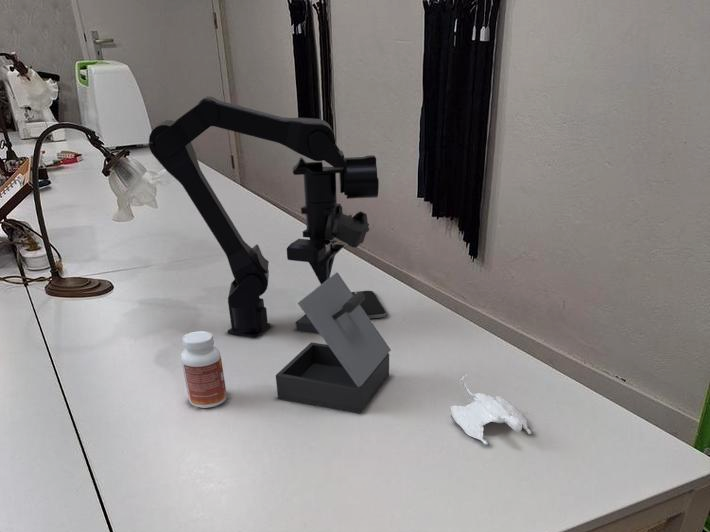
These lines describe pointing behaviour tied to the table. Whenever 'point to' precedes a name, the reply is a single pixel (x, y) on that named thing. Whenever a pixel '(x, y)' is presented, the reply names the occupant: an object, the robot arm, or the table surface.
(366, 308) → the smartphone
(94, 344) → the table surface
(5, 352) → the table surface
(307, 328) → the switch block
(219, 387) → the pill bottle
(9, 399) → the table surface
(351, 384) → the open square tray
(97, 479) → the table surface
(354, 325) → the box lid with handle
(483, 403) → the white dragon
